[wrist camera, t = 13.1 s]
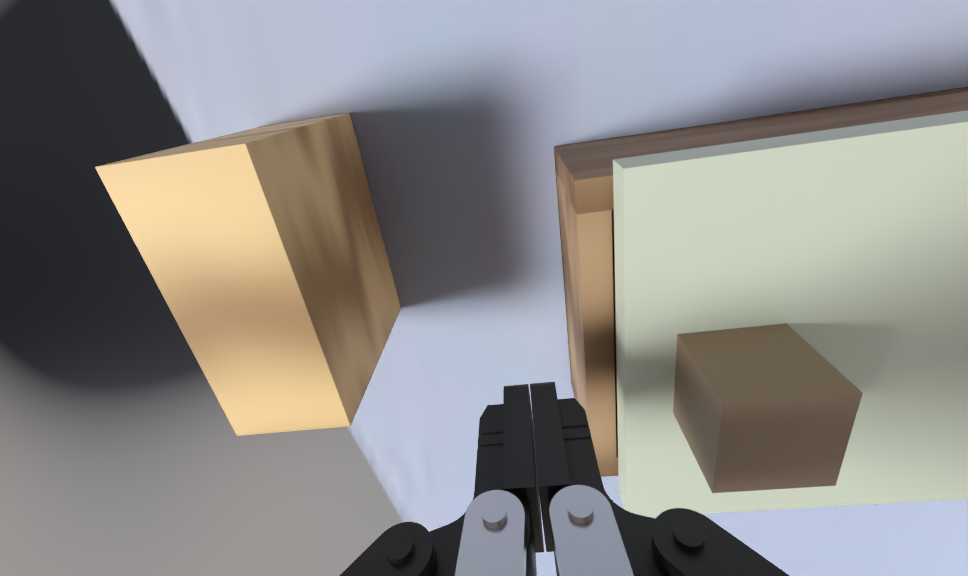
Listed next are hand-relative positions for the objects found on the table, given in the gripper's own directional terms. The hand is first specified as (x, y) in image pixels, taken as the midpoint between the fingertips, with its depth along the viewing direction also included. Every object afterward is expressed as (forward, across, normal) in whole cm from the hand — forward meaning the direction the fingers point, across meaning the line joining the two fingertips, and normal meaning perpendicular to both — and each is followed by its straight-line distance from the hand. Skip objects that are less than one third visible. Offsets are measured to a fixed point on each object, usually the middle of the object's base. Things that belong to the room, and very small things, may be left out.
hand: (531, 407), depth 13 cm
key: (+9, +8, -4) cm, 12 cm away
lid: (+2, -12, 0) cm, 12 cm away
